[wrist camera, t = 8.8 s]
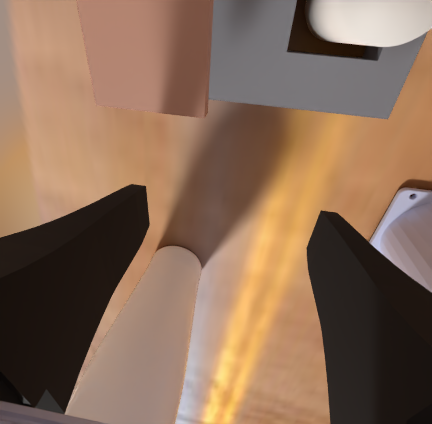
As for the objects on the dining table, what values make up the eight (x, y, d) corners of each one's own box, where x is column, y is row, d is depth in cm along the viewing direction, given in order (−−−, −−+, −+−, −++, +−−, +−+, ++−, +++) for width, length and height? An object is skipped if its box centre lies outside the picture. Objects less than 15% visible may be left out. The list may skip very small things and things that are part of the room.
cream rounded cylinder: (150, 278, 30) (73, 450, 17) (143, 233, 26) (37, 414, 13) (208, 286, 29) (170, 471, 17) (210, 241, 25) (162, 439, 13)
